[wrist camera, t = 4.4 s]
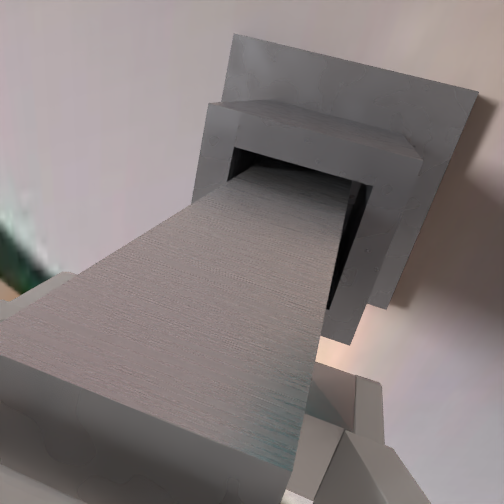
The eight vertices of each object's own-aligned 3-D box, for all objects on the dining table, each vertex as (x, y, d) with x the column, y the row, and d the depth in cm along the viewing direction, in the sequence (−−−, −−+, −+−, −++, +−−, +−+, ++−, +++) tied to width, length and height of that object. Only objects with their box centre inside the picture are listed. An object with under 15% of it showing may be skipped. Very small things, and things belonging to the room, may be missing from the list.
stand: (472, 91, 23) (590, 90, 11) (385, 299, 29) (397, 455, 17) (241, 36, 25) (117, -18, 13) (202, 240, 31) (90, 338, 19)
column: (356, 160, 24) (291, 472, 4) (334, 226, 26) (216, 667, 6) (291, 142, 25) (-31, 342, 5) (274, 208, 26) (-15, 552, 7)
